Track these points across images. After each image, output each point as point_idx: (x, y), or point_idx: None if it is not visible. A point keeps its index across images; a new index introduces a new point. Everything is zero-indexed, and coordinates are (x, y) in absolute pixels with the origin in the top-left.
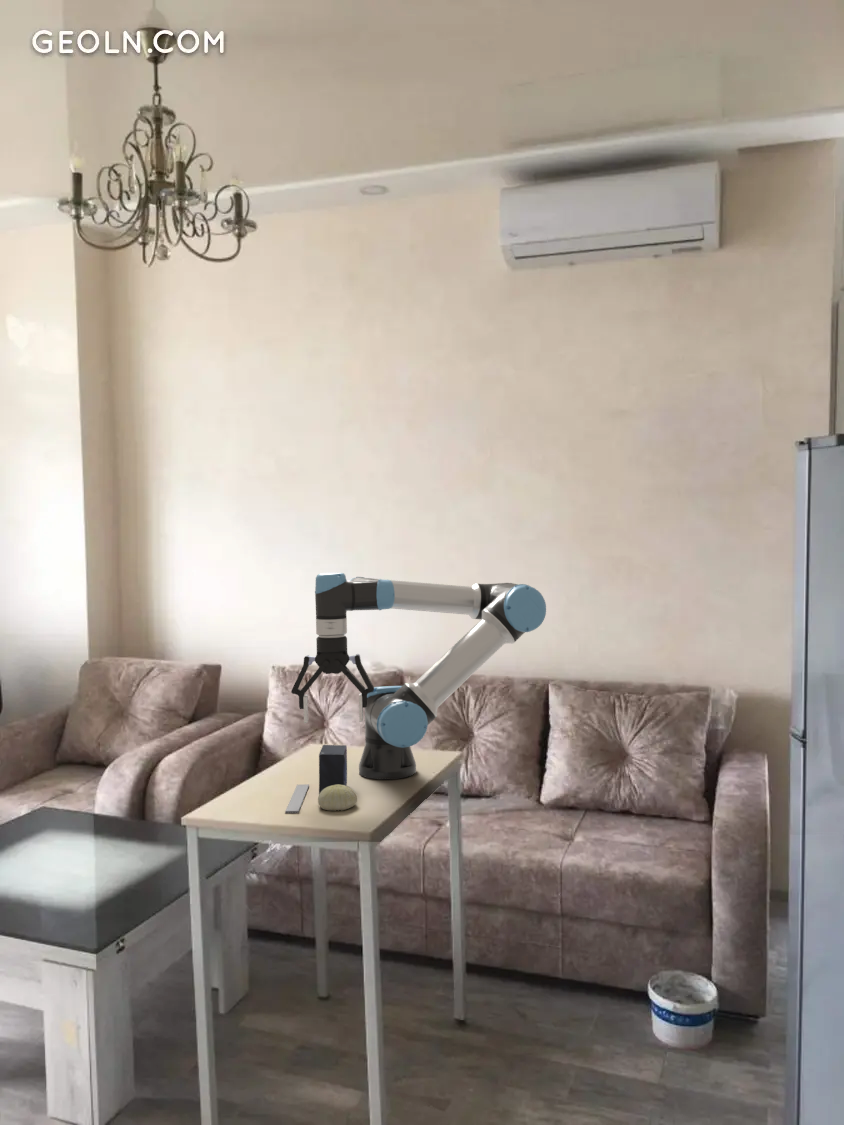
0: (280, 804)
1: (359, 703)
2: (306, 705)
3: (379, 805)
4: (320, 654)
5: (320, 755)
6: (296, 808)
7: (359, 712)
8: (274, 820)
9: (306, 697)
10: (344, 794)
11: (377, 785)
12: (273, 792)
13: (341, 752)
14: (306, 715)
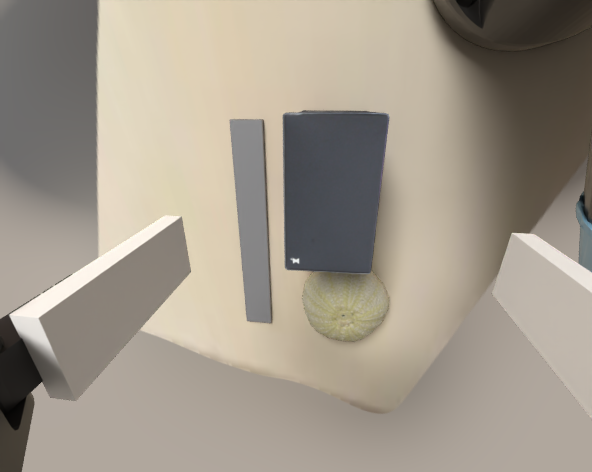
0: (226, 265)
1: (576, 395)
2: (128, 339)
3: (435, 295)
4: None
5: (290, 269)
6: (264, 308)
7: (526, 334)
8: (237, 347)
9: (81, 391)
10: (361, 337)
11: (463, 120)
12: (186, 172)
13: (363, 251)
14: (167, 294)
